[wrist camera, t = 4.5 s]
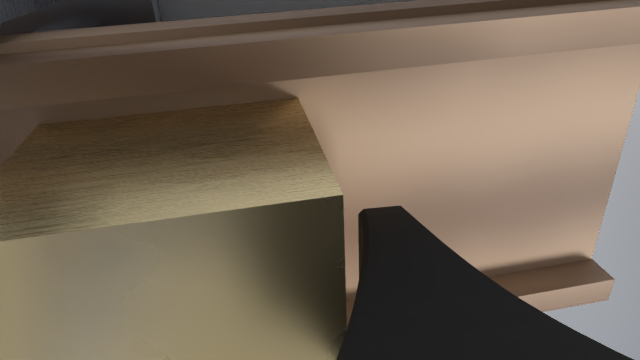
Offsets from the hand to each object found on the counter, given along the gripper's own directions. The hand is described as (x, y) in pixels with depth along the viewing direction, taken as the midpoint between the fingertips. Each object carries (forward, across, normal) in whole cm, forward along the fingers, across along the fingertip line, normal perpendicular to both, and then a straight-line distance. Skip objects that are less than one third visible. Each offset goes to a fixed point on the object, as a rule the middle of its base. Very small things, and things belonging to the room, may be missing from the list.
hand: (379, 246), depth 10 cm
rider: (+2, +4, 0) cm, 5 cm away
